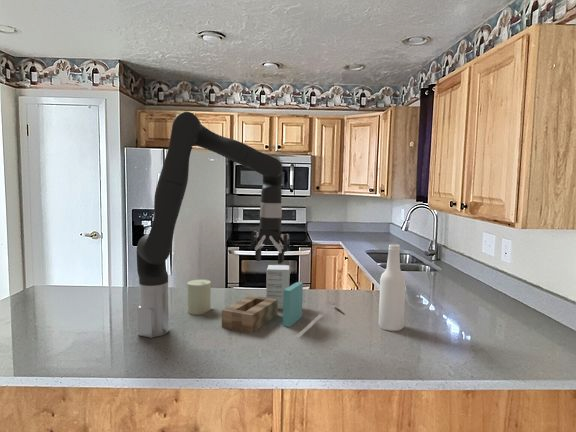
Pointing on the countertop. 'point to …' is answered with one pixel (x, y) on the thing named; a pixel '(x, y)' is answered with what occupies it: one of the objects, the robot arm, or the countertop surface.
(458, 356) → the countertop surface
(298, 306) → the cover plate
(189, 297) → the can
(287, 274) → the supplement box
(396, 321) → the alcohol
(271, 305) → the slot box
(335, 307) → the fork
